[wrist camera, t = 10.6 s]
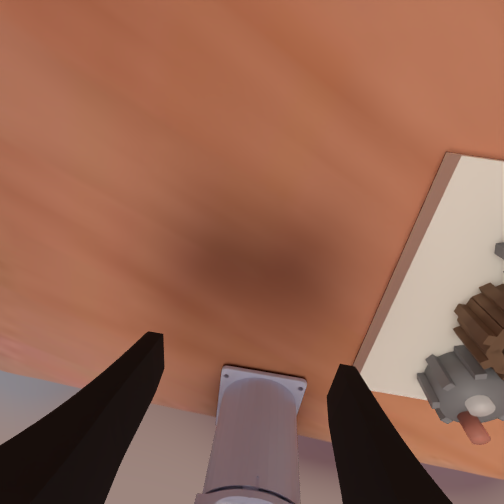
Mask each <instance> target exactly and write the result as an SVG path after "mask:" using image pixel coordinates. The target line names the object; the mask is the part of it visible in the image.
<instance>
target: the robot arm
mask: <svg viewBox="0 0 504 504" xmlns="http://www.w3.org/2000/svg"><path fill="white" fill-rule="evenodd" d="M163 371H164V343H163V334H161V333H155V332H147V333H146V334H145V335H143V336H142V337H141V338H140V339H139V340H138V341H137V342H136V343H135V344H134V345H133V346H132V347H131V348H130V349H129V350H127V351H126V352H125V353H124V354H123V355H122V356H121V357H120V358H119V359H117V360H116V361H115V362H114V363H113V364H112V365H111V366H109V367H108V368H107V369H106V370H105V371H104V372H102V373H101V374H100V375H99V376H98V377H96V378H95V379H94V380H93V381H91V382H90V383H89V384H88V385H86V386H85V387H84V388H83V389H81V390H80V391H79V392H78V393H76V394H75V395H74V396H72V397H71V398H70V399H69V400H67V401H66V402H64V403H63V404H62V405H60V406H59V407H58V408H56V409H55V410H53V411H52V412H50V413H49V414H48V415H46V416H45V417H43V418H42V419H40V420H39V421H37V422H36V423H35V424H33V425H31V426H30V427H28V428H27V429H25V430H24V431H22V432H21V433H19V434H18V435H16V436H14V437H13V438H11V439H10V440H8V441H6V442H5V443H3V444H2V445H0V504H104V503H105V500H106V498H107V495H108V493H109V490H110V488H111V485H112V483H113V480H114V478H115V476H116V473H117V471H118V468H119V466H120V464H121V462H122V459H123V457H124V455H125V453H126V451H127V449H128V447H129V445H130V443H131V441H132V439H133V437H134V435H135V433H136V431H137V429H138V427H139V425H140V423H141V421H142V419H143V417H144V415H145V413H146V411H147V409H148V406H149V405H150V403H151V401H152V399H153V397H154V395H155V392H156V390H157V387H158V384H159V382H160V379H161V376H162V373H163ZM306 387H307V381H306V380H305V379H303V378H297V377H291V376H285V375H280V374H274V373H268V372H262V371H256V370H251V369H245V368H239V367H233V366H223V368H222V371H221V380H220V389H219V398H218V407H217V416H216V431H215V435H214V440H213V445H212V450H211V454H210V459H209V464H208V469H207V474H206V479H205V483H204V489H203V493H202V494H200V493H198V494H197V495H196V499H195V503H194V504H301V502H300V482H299V462H298V442H297V420H296V416H297V413H298V410H299V407H300V404H301V402H302V399H303V396H304V393H305V390H306ZM327 407H328V420H329V428H330V434H331V440H332V445H333V450H334V456H335V462H336V467H337V472H338V478H339V483H340V489H341V494H342V501H343V504H452V502H451V501H450V500H449V499H448V497H447V496H446V495H445V494H444V493H443V492H442V490H441V489H440V488H439V487H438V485H437V484H436V483H435V482H434V480H433V479H432V478H431V477H430V475H429V474H428V473H427V472H426V470H425V469H424V468H423V466H422V465H421V464H420V462H419V461H418V460H417V458H416V457H415V456H414V454H413V453H412V452H411V450H410V449H409V448H408V446H407V445H406V443H405V442H404V441H403V439H402V438H401V436H400V435H399V433H398V432H397V431H396V429H395V428H394V426H393V425H392V423H391V422H390V420H389V419H388V417H387V416H386V414H385V413H384V411H383V410H382V408H381V407H380V405H379V403H378V402H377V400H376V399H375V397H374V396H373V394H372V392H371V391H370V389H369V388H368V386H367V384H366V383H365V381H364V379H363V378H362V376H361V375H360V373H359V371H358V370H357V368H356V367H355V366H349V365H343V364H340V365H339V368H338V370H337V373H336V375H335V378H334V380H333V383H332V385H331V388H330V390H329V392H328V395H327Z"/></svg>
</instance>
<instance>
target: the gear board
mask: <svg viewBox="0 0 504 504" xmlns="http://www.w3.org/2000/svg"><path fill="white" fill-rule="evenodd" d="M488 283H492V284H493V285H494V286H495V287H496V286H498V285H501V284H504V160H498V159H491V158H484V157H477V156H470V155H464V154H457V153H450V152H446V154H445V156H444V159H443V161H442V163H441V165H440V168H439V170H438V172H437V175H436V177H435V179H434V181H433V184H432V186H431V188H430V191H429V193H428V195H427V197H426V200H425V202H424V204H423V206H422V209H421V211H420V213H419V216H418V218H417V220H416V222H415V225H414V227H413V229H412V232H411V234H410V236H409V238H408V241H407V243H406V245H405V248H404V250H403V252H402V254H401V257H400V259H399V261H398V264H397V266H396V268H395V270H394V273H393V275H392V277H391V280H390V282H389V284H388V286H387V289H386V291H385V293H384V296H383V298H382V300H381V302H380V305H379V307H378V309H377V312H376V314H375V316H374V318H373V321H372V323H371V325H370V327H369V330H368V332H367V334H366V337H365V339H364V341H363V343H362V346H361V348H360V350H359V353H358V355H357V357H356V359H355V362H354V364H353V366H355V367H356V368H357V370H358V371H359V373H360V375H361V376H362V378H363V379H364V381H365V383H366V384H367V386H368V388H369V389H370V390H371V391H377V392H382V393H388V394H394V395H400V396H406V397H411V398H417V399H423V400H428V402H429V404H430V406H431V407H432V409H435V411H436V412H437V414H438V416H439V418H440V420H441V421H443V422H445V423H447V424H449V423H450V422H452V421H456V422H460V424H461V425H462V427H463V429H464V431H465V432H466V434H467V436H468V437H469V439H470V441H471V442H472V443H473V444H476V445H482V444H486V443H488V442H489V441H490V440H491V438H490V436H489V434H488V433H487V431H486V430H485V428H484V427H483V425H482V424H481V423H482V422H487V421H491V420H494V419H497V418H498V419H500V420H502V421H504V380H502V379H501V378H500V377H499V376H498V375H497V373H496V372H495V371H494V370H493V369H492V367H490V368H487V369H483V368H482V367H481V365H480V364H479V363H478V362H477V360H476V359H475V358H474V357H473V355H472V354H471V353H470V352H469V350H468V349H467V348H466V346H465V345H464V344H463V343H462V341H461V340H460V339H459V338H458V336H457V335H456V334H455V332H454V330H453V328H455V327H458V326H460V325H459V323H458V321H457V318H458V316H457V315H456V313H455V312H454V310H455V309H456V307H457V305H458V304H465V305H466V304H467V302H468V301H469V299H470V298H472V296H475V295H477V294H479V293H481V291H480V289H479V287H481V286H483V285H485V284H488Z"/></svg>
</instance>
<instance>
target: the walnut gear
mask: <svg viewBox="0 0 504 504" xmlns="http://www.w3.org/2000/svg"><path fill="white" fill-rule="evenodd" d="M479 289H480V291H481V293H479V294H477V295H475V296H472V298H470V299H469V301H468V302H467V304H466V305H465V304H458V305H457V307H456V309H455V310H454V312H455V313H456V315H457V316H458V318H457V321H458V323H459V325H460V326H458V327H455V328H453V330H454V332H455V334H456V335H457V336H458V338H459V339H460V340H461V341H462V343H463V344H464V345H465V346H466V348H467V349H468V350H469V352H470V353H471V354H472V355H473V357H474V358H475V359H476V360H477V362H478V363H479V364H480V365H481V367H482V368H483V369H487V368H490V367H492V369H493V370H494V371H495V372H496V373H497V375H498V376H499V377H500V378H501V379H502V380H504V284H501V285H498V286H496V287H495V286H494V285H493V284H492V283H488V284H485V285H483V286H481V287H479Z"/></svg>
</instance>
